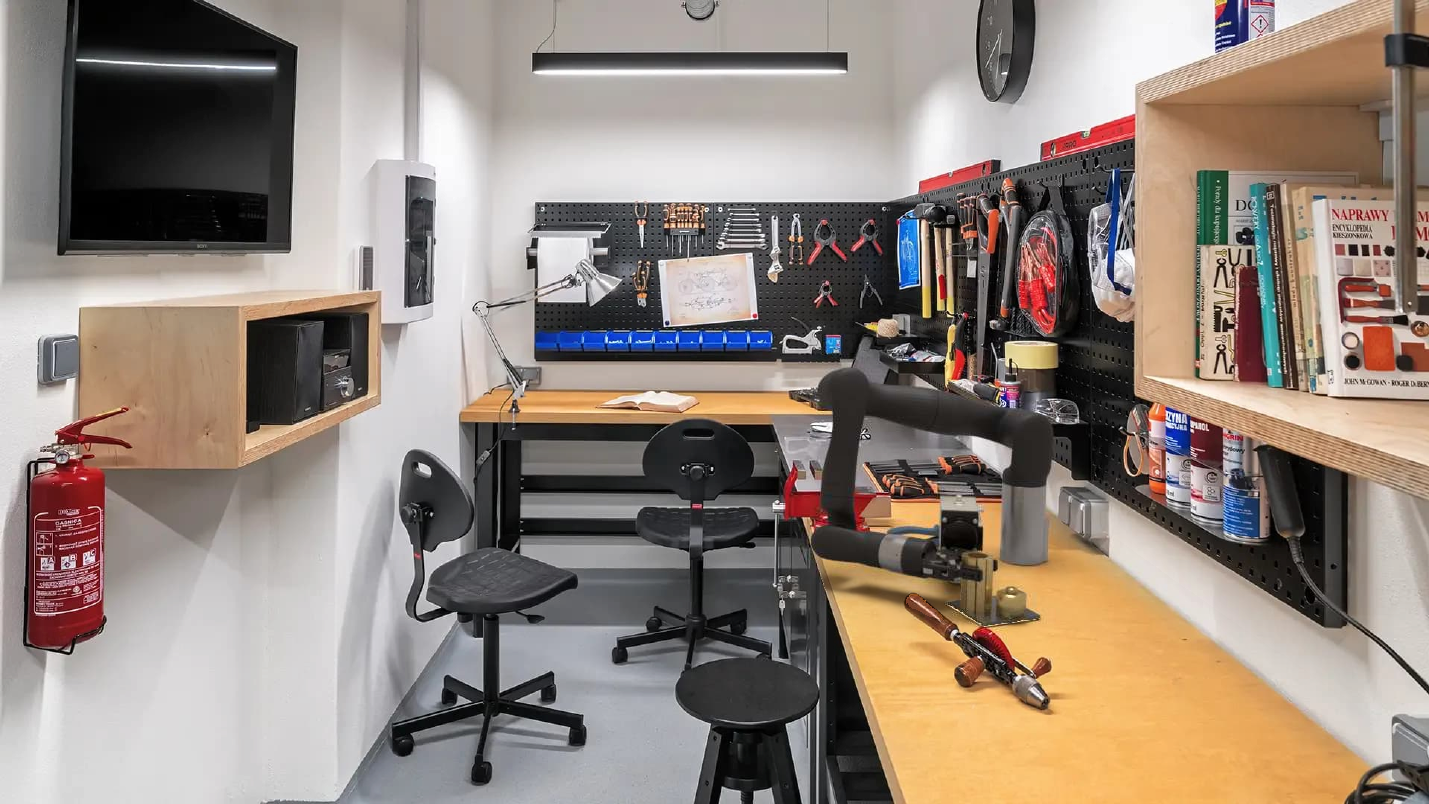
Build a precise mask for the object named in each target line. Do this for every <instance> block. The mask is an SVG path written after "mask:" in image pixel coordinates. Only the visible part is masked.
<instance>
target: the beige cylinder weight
mask: <svg viewBox="0 0 1429 804" xmlns="http://www.w3.org/2000/svg"><path fill="white" fill-rule="evenodd" d="M996 595H997V598H996V614H997V615H998V616H999V617H1002V618H1005V619H1012V620H1018V619H1023V618H1025V617H1026V608H1027V593H1026V592H1025V591H1023V590H1019V589H1018V587H1016V586H1010V585H1009V586H1005V588H1001V589H998V590H997V591H996Z"/></svg>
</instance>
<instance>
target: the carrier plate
mask: <svg viewBox="0 0 1429 804" xmlns="http://www.w3.org/2000/svg"><path fill="white" fill-rule="evenodd" d="M996 598H997V594H996V595H992V610H991V611H988V612H984V613H976V612H970V611H966V610H964V609H962V608H961V607H960V604H961V599H957V600H950V601H947V604H948V605H950V606H953V607H954V608H955V609H958V610H959V611H960V612H963V613H964V614H965V615H967V616H968V617H970V618H972V619H973V620H975V621H976V622H978V623H981V625H982V626H988V625H995V624H1001V623H1012V622H1017V621H1021V620H1033V619H1039V618H1040V619H1041V617H1042V616H1041V615H1040V614H1039V613H1037V612H1035V611H1034V610H1032V609H1029V608H1027V607H1026V617H1025V618H1023V619H1018V620H1012V619H1005V618H1002V617H999V616H998V615H997V614H996ZM982 626H981V627H982Z"/></svg>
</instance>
